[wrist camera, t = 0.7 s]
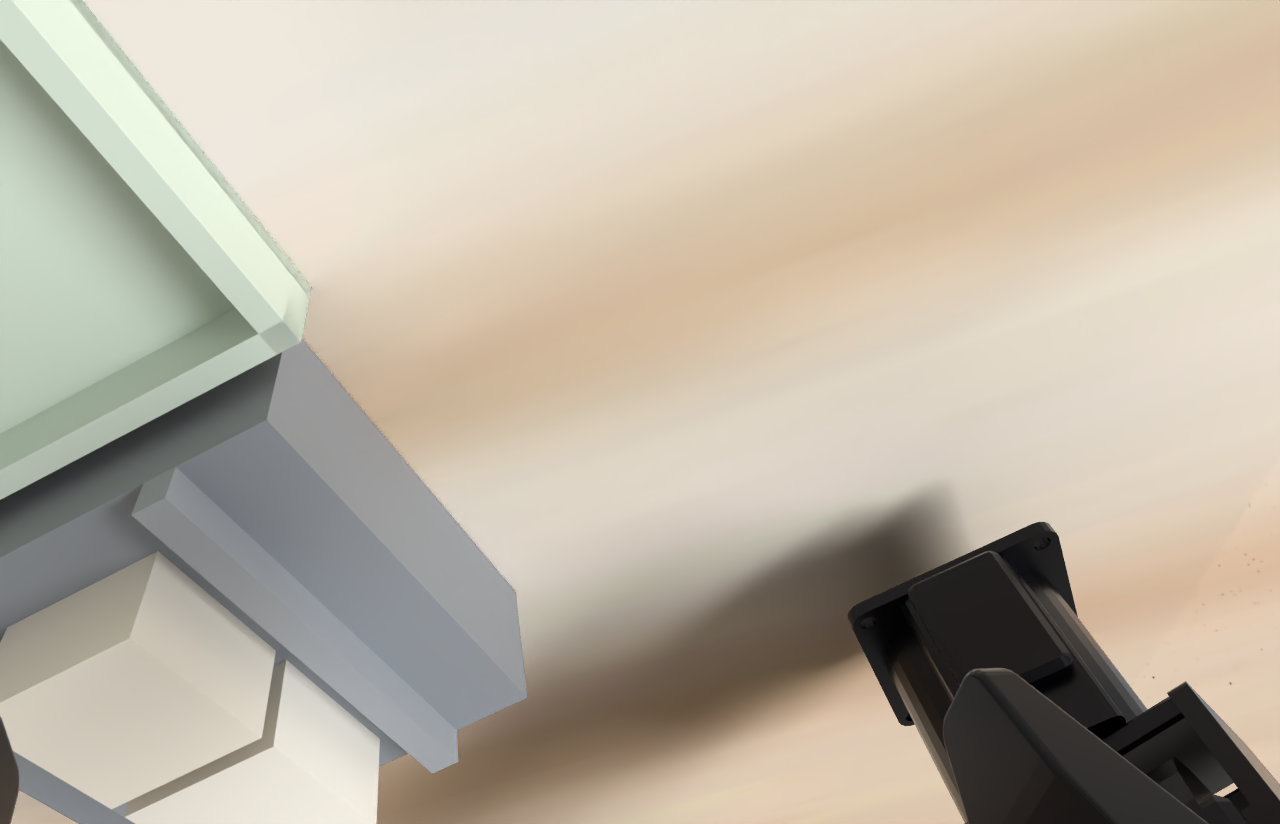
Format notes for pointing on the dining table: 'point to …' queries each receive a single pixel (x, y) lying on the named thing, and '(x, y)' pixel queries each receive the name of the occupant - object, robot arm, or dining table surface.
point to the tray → (114, 250)
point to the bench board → (283, 556)
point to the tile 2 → (280, 769)
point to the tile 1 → (132, 682)
